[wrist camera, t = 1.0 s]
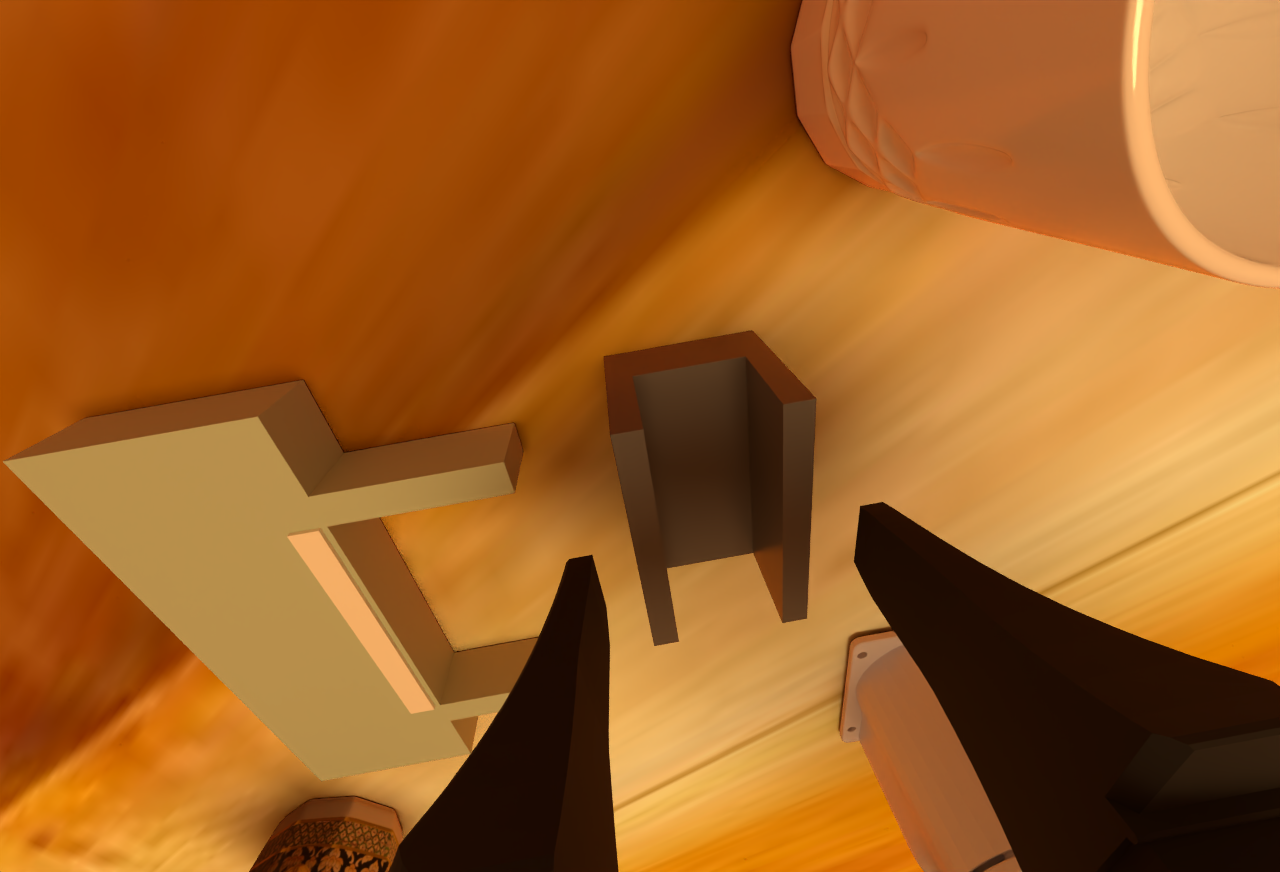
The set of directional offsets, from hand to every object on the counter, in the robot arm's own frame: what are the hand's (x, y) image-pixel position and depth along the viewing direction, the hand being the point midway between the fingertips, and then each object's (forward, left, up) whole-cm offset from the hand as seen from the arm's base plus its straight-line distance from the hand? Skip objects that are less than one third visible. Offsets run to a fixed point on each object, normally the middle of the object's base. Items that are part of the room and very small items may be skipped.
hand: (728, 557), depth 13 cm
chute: (0, 0, -6) cm, 6 cm away
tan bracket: (-4, +12, -6) cm, 14 cm away
